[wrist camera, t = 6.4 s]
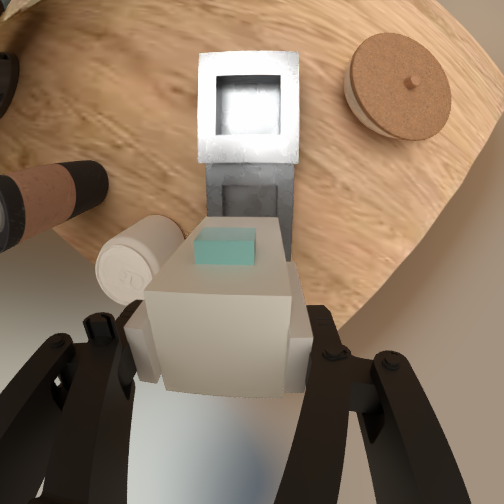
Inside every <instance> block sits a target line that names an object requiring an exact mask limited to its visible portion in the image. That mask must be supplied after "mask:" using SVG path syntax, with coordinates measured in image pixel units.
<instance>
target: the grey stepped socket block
mask: <svg viewBox="0 0 504 504" xmlns="http://www.w3.org/2000/svg"><path fill="white" fill-rule="evenodd" d="M198 163H206V190H207V217H278V220H279V226H280V231H281V237H282V242H283V248H284V253H285V259H286V262H290V259H291V241H292V219H293V193H294V163H295V164H299V53H298V52H289V51H226V52H211V53H200V54H199V76H198Z"/></svg>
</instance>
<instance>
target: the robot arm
mask: <svg viewBox="0 0 504 504" xmlns="http://www.w3.org/2000/svg"><path fill="white" fill-rule="evenodd" d="M10 1H11V0H0V16H1V14H2V13H3V12H5V10H6V8H7V6H8V4H9V3H10ZM18 74H19V63H18V59H17V57H16V55H15V54H13V53H9V52H0V118H1V117H2V115H3V114H4V113H5V111H6V109H7V108H8V106H9V104H10V102H11V99H12V97H13V94H14V92H15V88H16V85H17V80H18ZM286 264H287V270H288V276H289V282H290V288H291V294H292V301H291V314H290V326H289V329H288V340H287V351H286V362H285V372H284V392H285V393H302V392H304V390H305V385H306V391H305V396H304V400H303V404H302V408H301V412H300V416H299V420H298V424H297V428H296V432H295V436H294V439H293V443H292V447H291V450H290V454H289V457H288V460H287V464H286V467H285V470H284V474H283V477H282V480H281V483H280V486H279V489H278V492H277V495H276V499H275V501H274V504H337V500H338V494H339V489H340V482H341V476H342V469H343V462H344V455H345V447H346V437H347V428H348V416H349V411H355V412H356V413H357V417H358V421H359V425H360V429H361V433H362V437H363V441H364V446H365V450H366V454H367V459H368V463H369V468H370V472H371V476H372V482H373V487H374V492H375V497H376V502H377V504H471V501H470V498H469V495H468V493H467V490H466V487H465V484H464V481H463V478H462V476H461V473H460V471H459V468H458V465H457V463H456V460H455V458H454V456H453V453H452V451H451V448H450V446H449V444H448V441H447V439H446V437H445V434H444V432H443V430H442V428H441V426H440V423H439V421H438V419H437V417H436V415H435V413H434V411H433V408H432V407H431V405H430V402H429V400H428V398H427V396H426V394H425V392H424V391H423V388H422V386H421V384H420V382H419V380H418V379H417V377H416V375H415V373H414V371H413V369H412V367H411V365H410V363H409V361H408V360H407V359H406V357H404V356H403V355H402V354H400V353H398V352H394V351H382V352H379V353H378V354H376V355H375V357H374V360H369V359H363V358H358V357H355V356H353V355H351V351H350V350H349V349H348V348H347V347H346V346H344V345H342V343H341V341H340V338H339V335H338V332H337V329H336V326H335V323H334V321H333V318H332V315H331V312H330V311H329V310H328V309H327V308H326V307H325V306H324V305H306V304H305V299H304V295H303V291H302V287H301V283H300V279H299V275H298V271H297V267H296V263H295V262H286ZM83 325H84V328H85V330H86V334H87V336H88V339H89V340H88V342H87V343H73V341H72V338H71V337H70V335H68V334H66V333H58V334H54V335H53V336H50V337H49V338H48V339H47V340H46V341H45V342H44V343H43V344H42V345H41V346H40V348H38V350H37V351H36V352H35V353H34V354H33V355H32V356H31V358H30V359H29V360H28V361H27V362H26V363H25V365H24V366H23V367H22V368H21V369H20V370H19V372H18V373H17V374H16V375H15V376H14V378H13V379H12V380H11V381H10V382H9V384H8V385H7V386H6V388H5V389H4V390H3V391H2V393H1V394H0V504H127V474H128V456H129V442H130V430H131V420H132V410H133V401H134V394H135V382H134V380H133V377H134V375H135V373H136V372H137V373H138V376H139V379H140V381H144V382H150V383H157V382H158V380H159V377H160V375H161V373H162V371H161V367H160V364H159V360H158V356H157V352H156V347H155V343H154V339H153V334H152V330H151V325H150V320H149V318H148V314H147V308H146V303H145V299H144V300H138V299H136V300H134V301H133V302H131V303H130V304H128V305H127V307H126V308H125V309H124V310H123V312H122V313H121V314H120V317H118V318H117V319H116V321H115V319H114V317H113V315H112V314H109V313H105V312H101V313H95V314H92V315H90V316H88V317H87V318H85V320H84V321H83ZM57 376H58V378H59V379H60V381H61V383H60V385H58V386H56V384H55V382H54V380H55V379H56V378H57ZM44 478H45V481H44V486H43V491H42V494H41V496H40V497H38V498H35V497H36V495H37V492H38V490H39V488H40V486H41V484H42V482H43V480H44Z"/></svg>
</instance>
